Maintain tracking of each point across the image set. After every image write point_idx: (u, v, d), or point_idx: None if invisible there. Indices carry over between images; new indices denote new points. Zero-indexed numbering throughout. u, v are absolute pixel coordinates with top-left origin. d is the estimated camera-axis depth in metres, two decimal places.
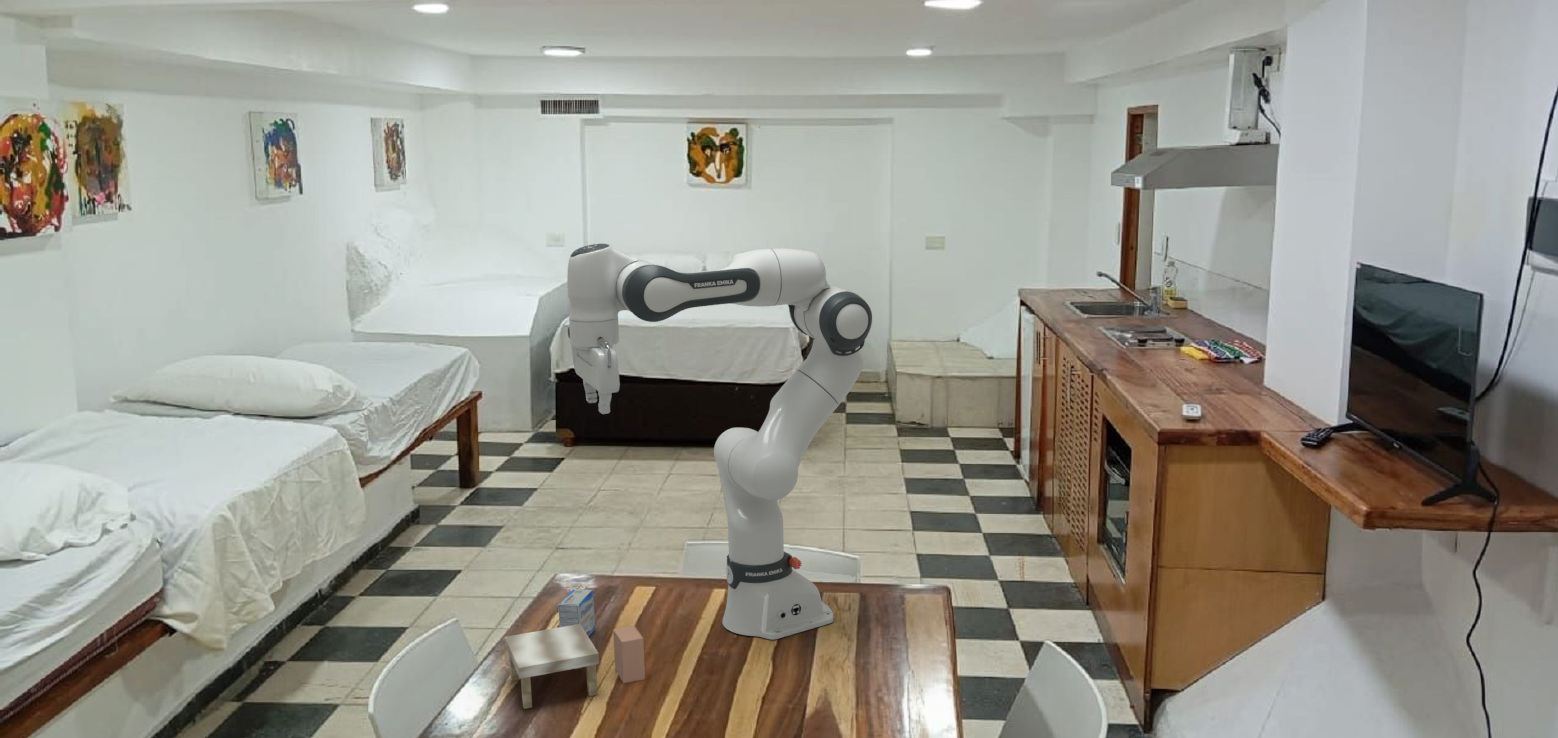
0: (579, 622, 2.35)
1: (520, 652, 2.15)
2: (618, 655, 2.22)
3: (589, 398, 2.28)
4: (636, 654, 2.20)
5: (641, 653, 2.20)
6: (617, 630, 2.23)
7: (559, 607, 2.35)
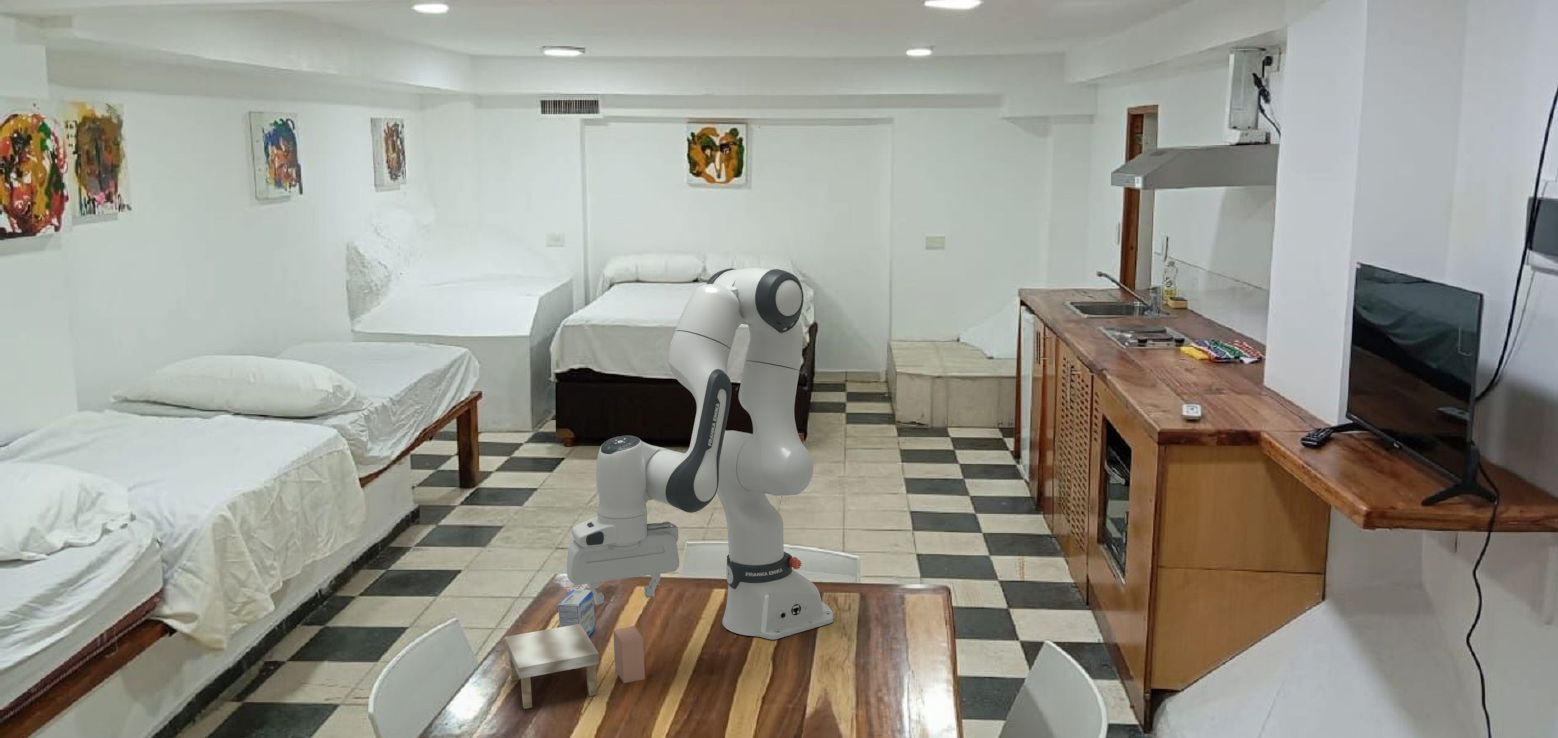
0: (579, 622, 2.35)
1: (520, 652, 2.15)
2: (618, 655, 2.22)
3: (603, 599, 2.18)
4: (636, 654, 2.20)
5: (641, 653, 2.20)
6: (617, 630, 2.23)
7: (559, 607, 2.35)
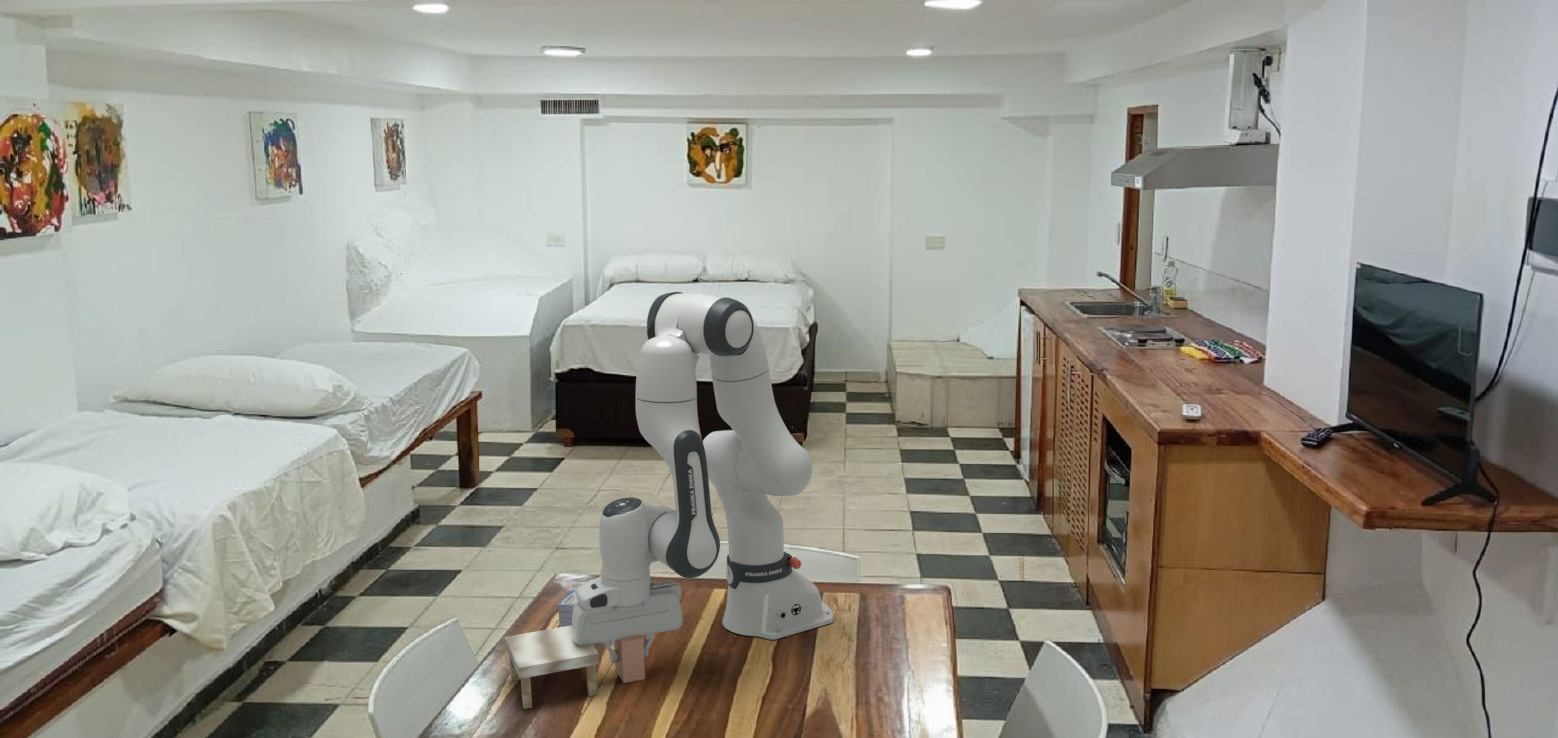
0: None
1: (520, 652, 2.15)
2: None
3: (619, 656, 2.21)
4: (636, 654, 2.20)
5: (641, 653, 2.20)
6: None
7: (559, 607, 2.35)
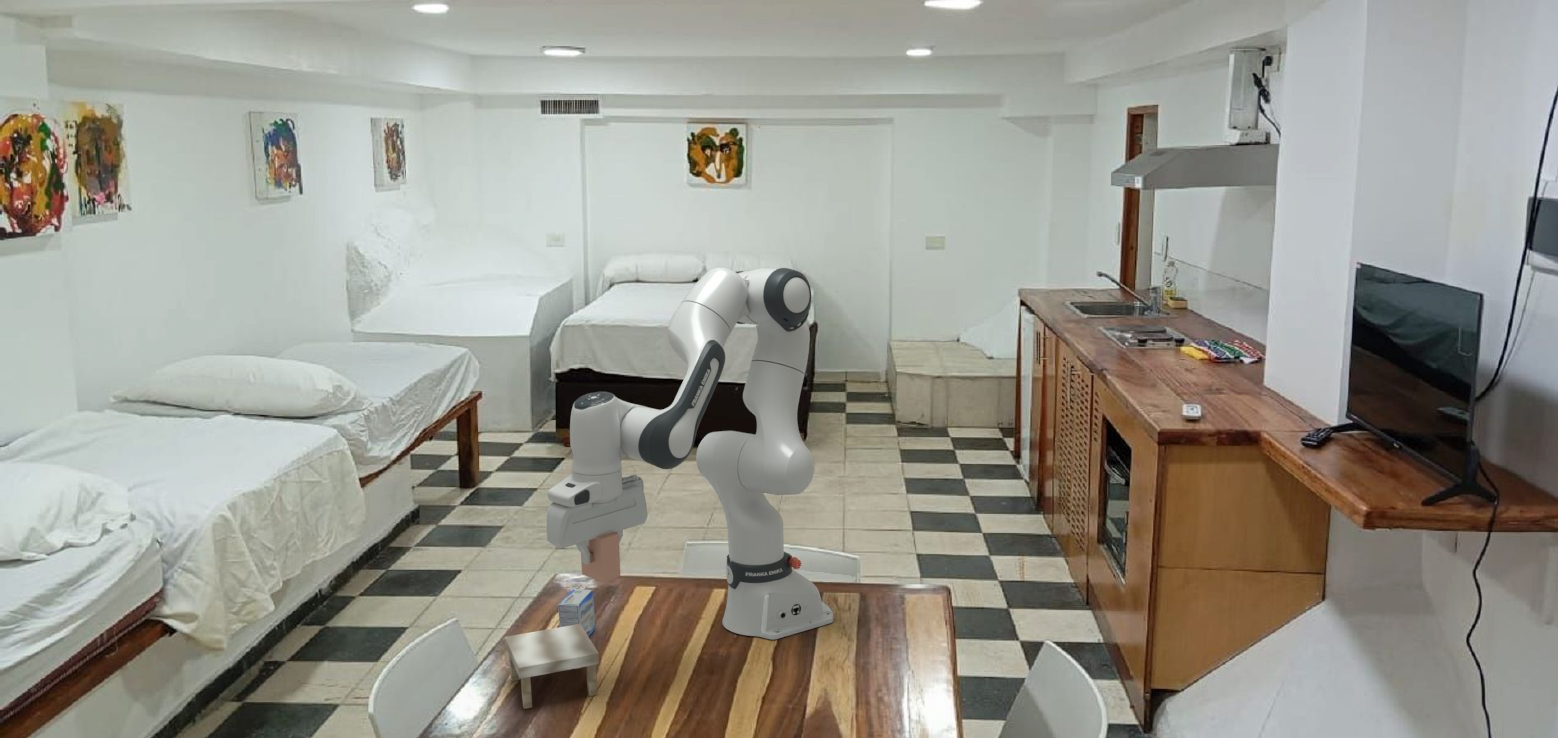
0: (579, 622, 2.35)
1: (520, 652, 2.15)
2: None
3: None
4: (612, 551, 2.16)
5: (617, 549, 2.16)
6: None
7: (559, 607, 2.35)
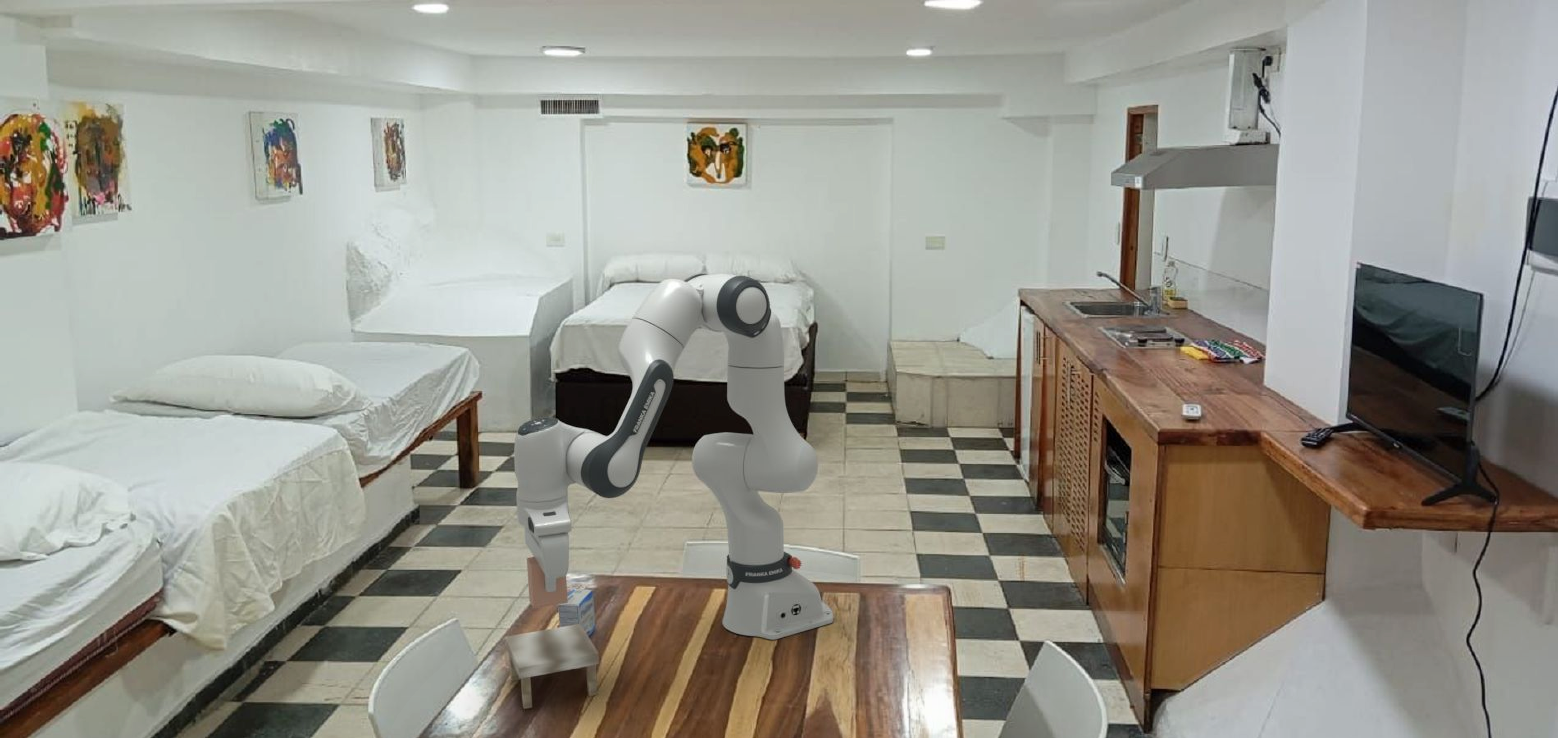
0: (579, 622, 2.35)
1: (520, 652, 2.15)
2: None
3: None
4: None
5: None
6: (534, 563, 2.12)
7: (559, 607, 2.35)
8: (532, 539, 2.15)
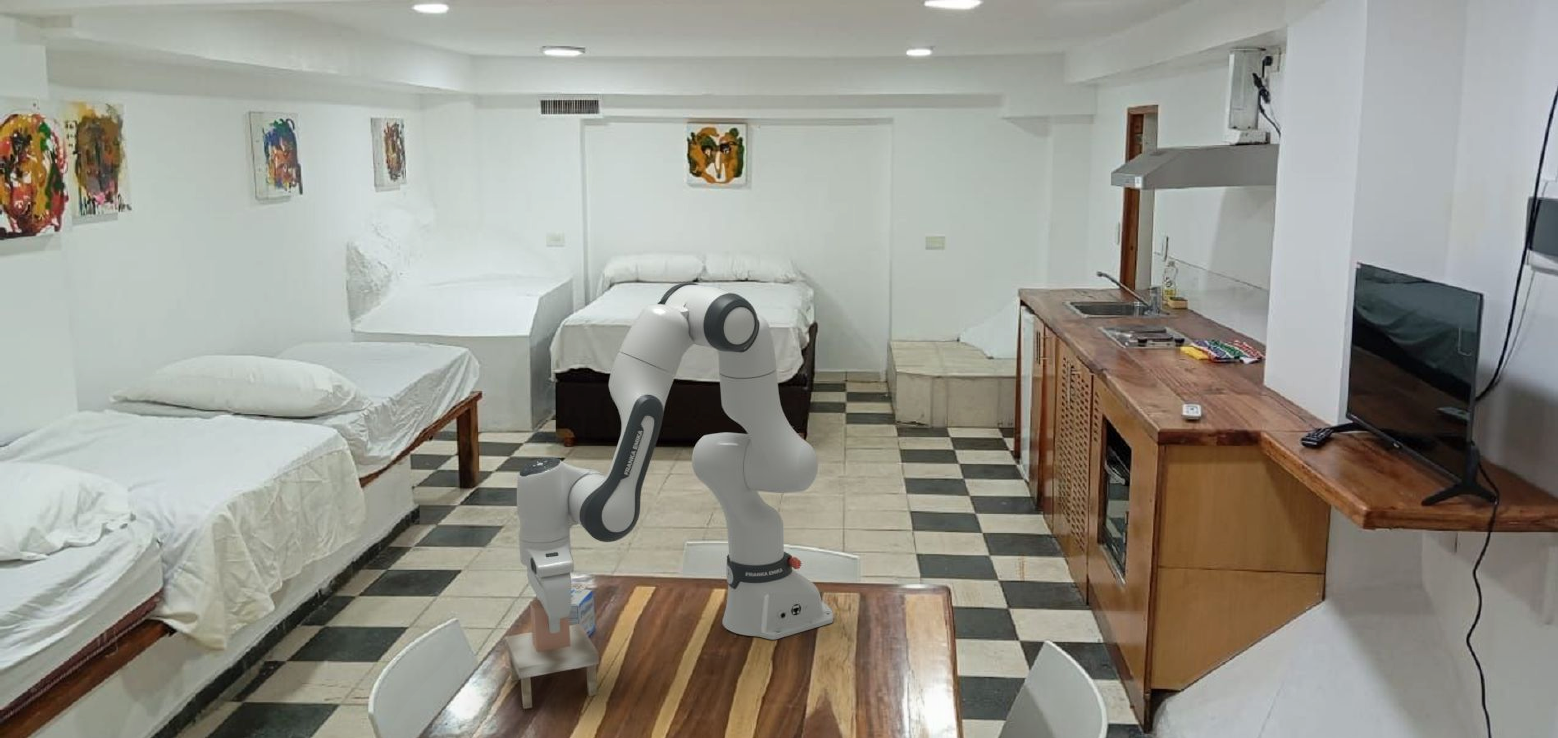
0: (579, 622, 2.35)
1: (520, 652, 2.15)
2: None
3: None
4: None
5: None
6: (537, 607, 2.14)
7: None
8: (535, 578, 2.16)
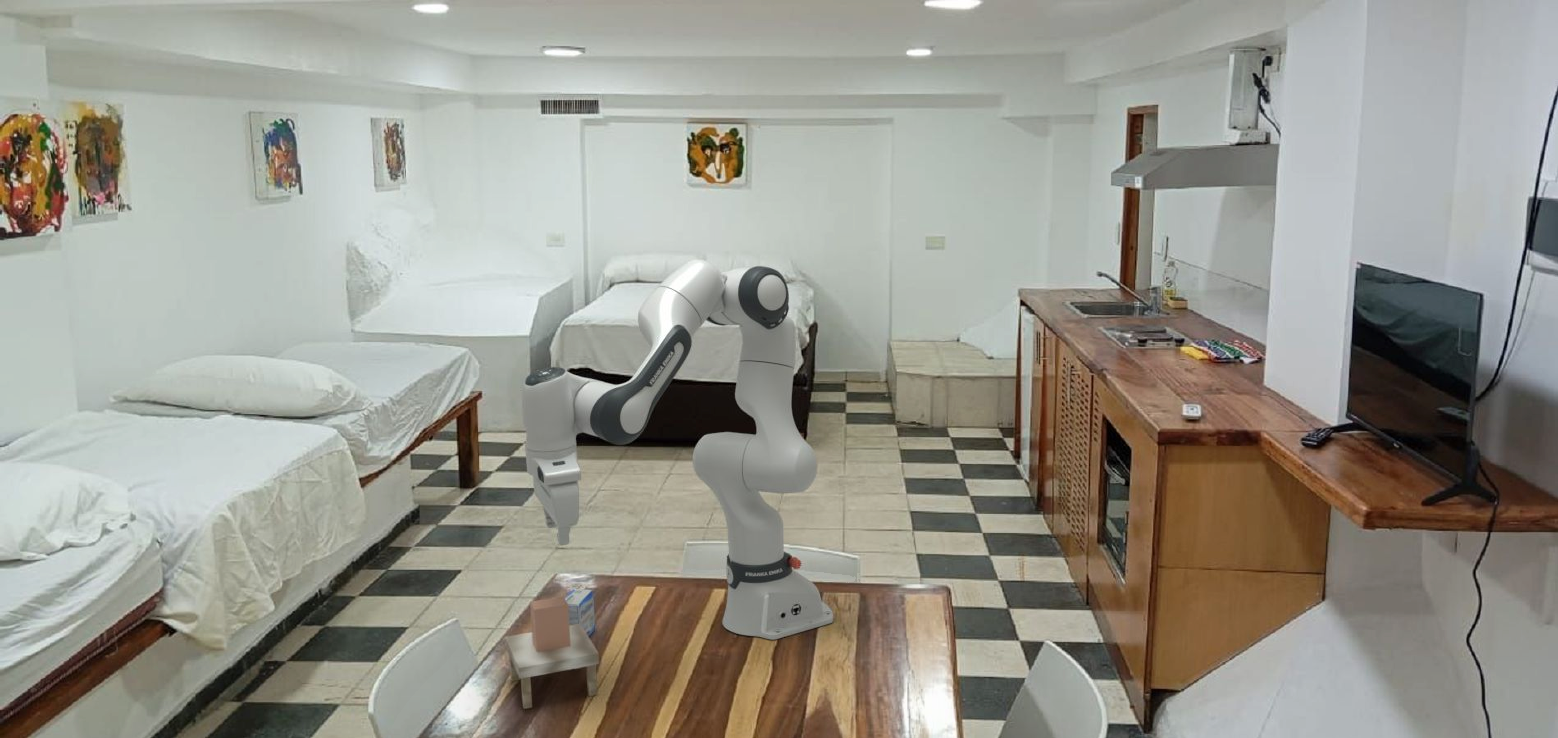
0: (579, 622, 2.35)
1: (520, 652, 2.15)
2: (552, 627, 2.15)
3: None
4: None
5: None
6: (537, 607, 2.14)
7: None
8: (541, 489, 2.15)
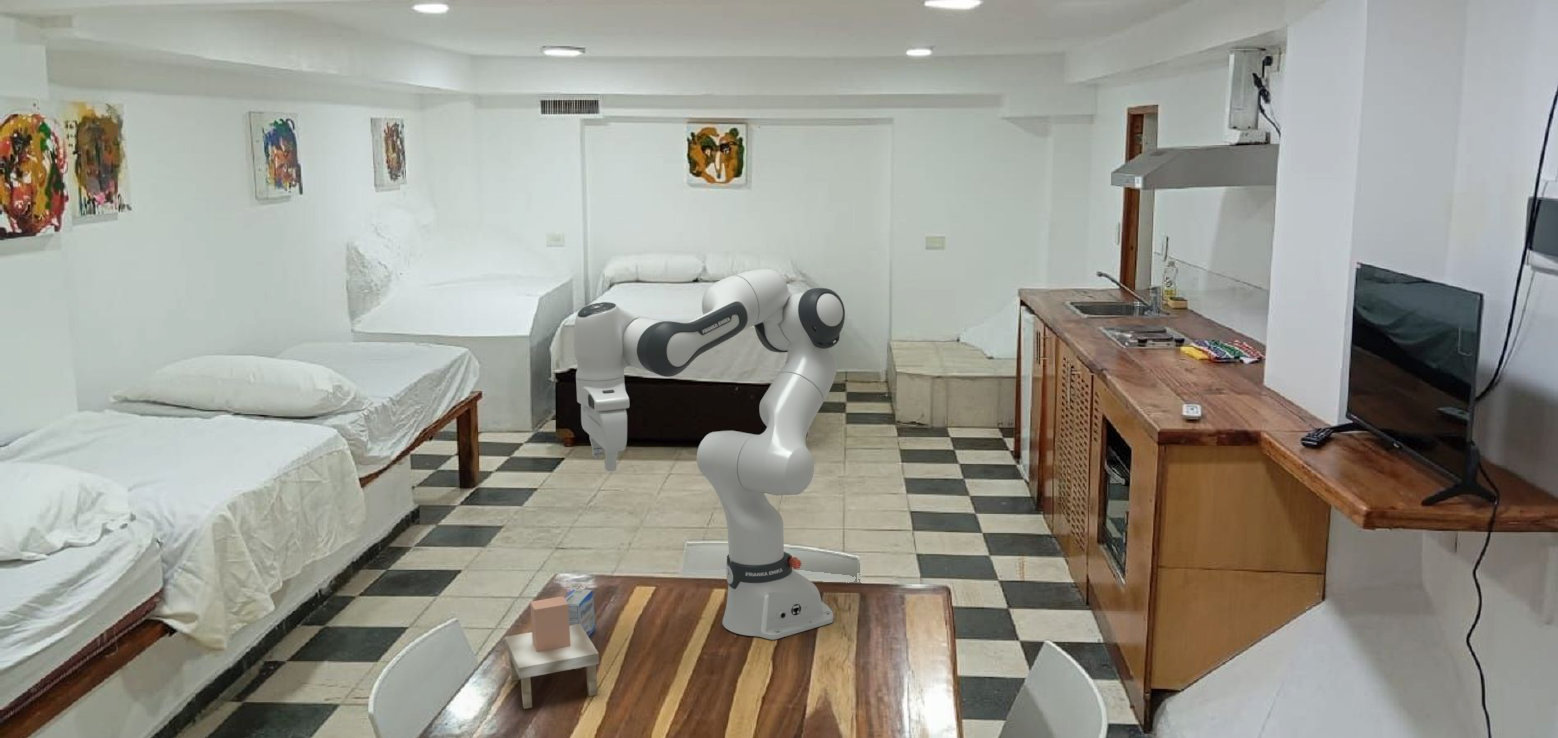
0: (579, 622, 2.35)
1: (520, 652, 2.15)
2: (552, 627, 2.15)
3: None
4: None
5: None
6: (537, 607, 2.14)
7: None
8: (590, 420, 2.26)
